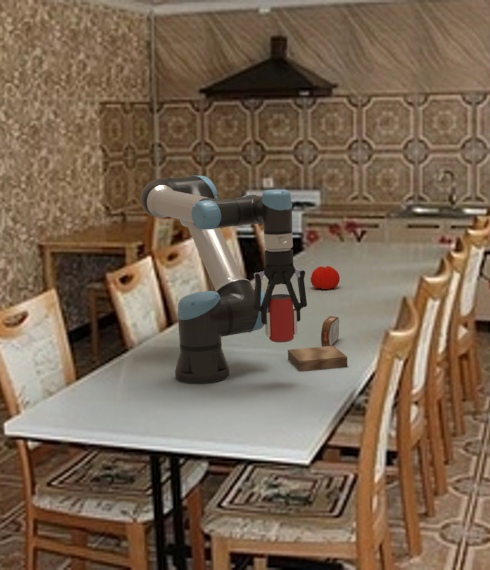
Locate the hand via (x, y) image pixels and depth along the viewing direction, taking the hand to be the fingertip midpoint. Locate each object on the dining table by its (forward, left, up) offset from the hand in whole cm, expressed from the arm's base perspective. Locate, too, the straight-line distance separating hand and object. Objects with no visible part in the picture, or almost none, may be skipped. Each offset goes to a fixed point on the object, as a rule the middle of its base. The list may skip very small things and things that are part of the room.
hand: (281, 334), depth 255 cm
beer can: (0, 0, -2) cm, 2 cm away
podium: (+14, +18, -14) cm, 26 cm away
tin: (+24, +39, -14) cm, 48 cm away
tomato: (+48, +133, -14) cm, 142 cm away
